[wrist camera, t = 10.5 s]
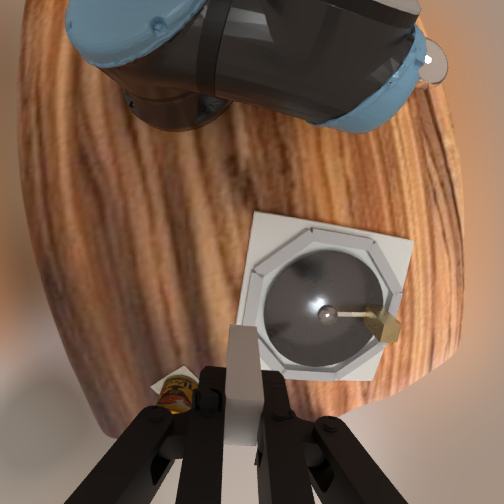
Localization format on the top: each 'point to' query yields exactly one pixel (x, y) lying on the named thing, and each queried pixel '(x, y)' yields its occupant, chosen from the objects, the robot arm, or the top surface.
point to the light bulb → (432, 67)
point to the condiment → (176, 390)
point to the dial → (326, 309)
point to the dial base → (301, 243)
